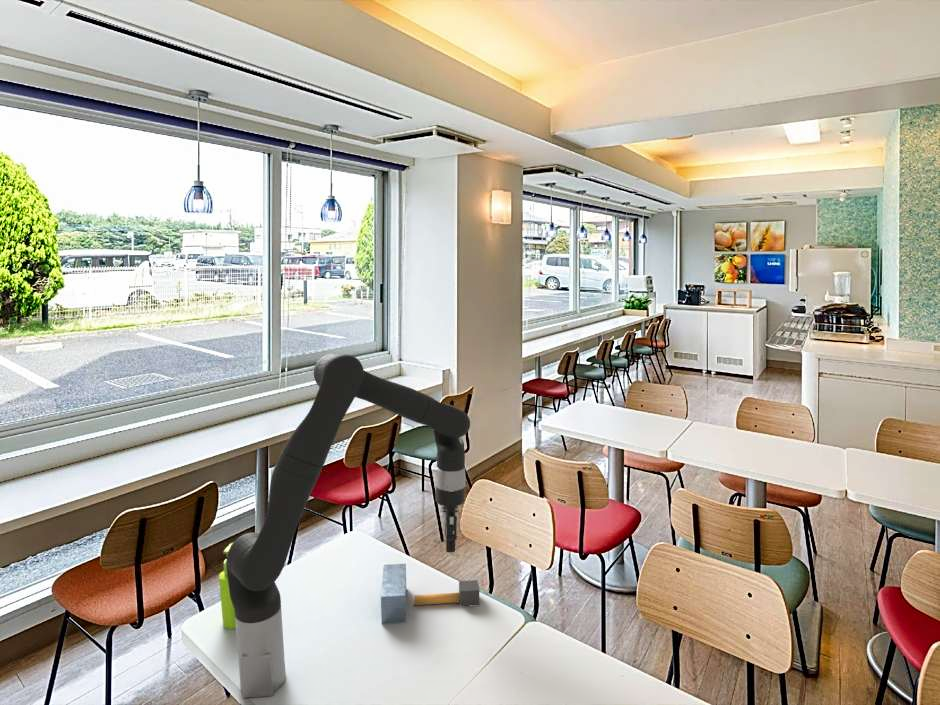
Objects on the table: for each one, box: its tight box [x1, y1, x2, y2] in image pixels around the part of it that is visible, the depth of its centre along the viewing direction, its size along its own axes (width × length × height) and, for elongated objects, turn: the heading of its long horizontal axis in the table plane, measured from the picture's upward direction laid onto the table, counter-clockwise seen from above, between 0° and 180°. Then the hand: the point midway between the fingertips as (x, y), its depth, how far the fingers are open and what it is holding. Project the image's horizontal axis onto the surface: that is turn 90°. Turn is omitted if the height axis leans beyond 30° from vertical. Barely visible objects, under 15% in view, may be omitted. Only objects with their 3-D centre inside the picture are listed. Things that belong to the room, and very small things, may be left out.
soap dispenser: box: [218, 541, 236, 630], centre depth 142 cm, size 6×7×20 cm
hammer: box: [413, 579, 480, 607], centre depth 151 cm, size 4×17×4 cm, turn 96°
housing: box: [380, 563, 407, 625], centre depth 149 cm, size 14×6×8 cm, turn 6°
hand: (449, 543), depth 147 cm, fingers open, 8 cm apart
